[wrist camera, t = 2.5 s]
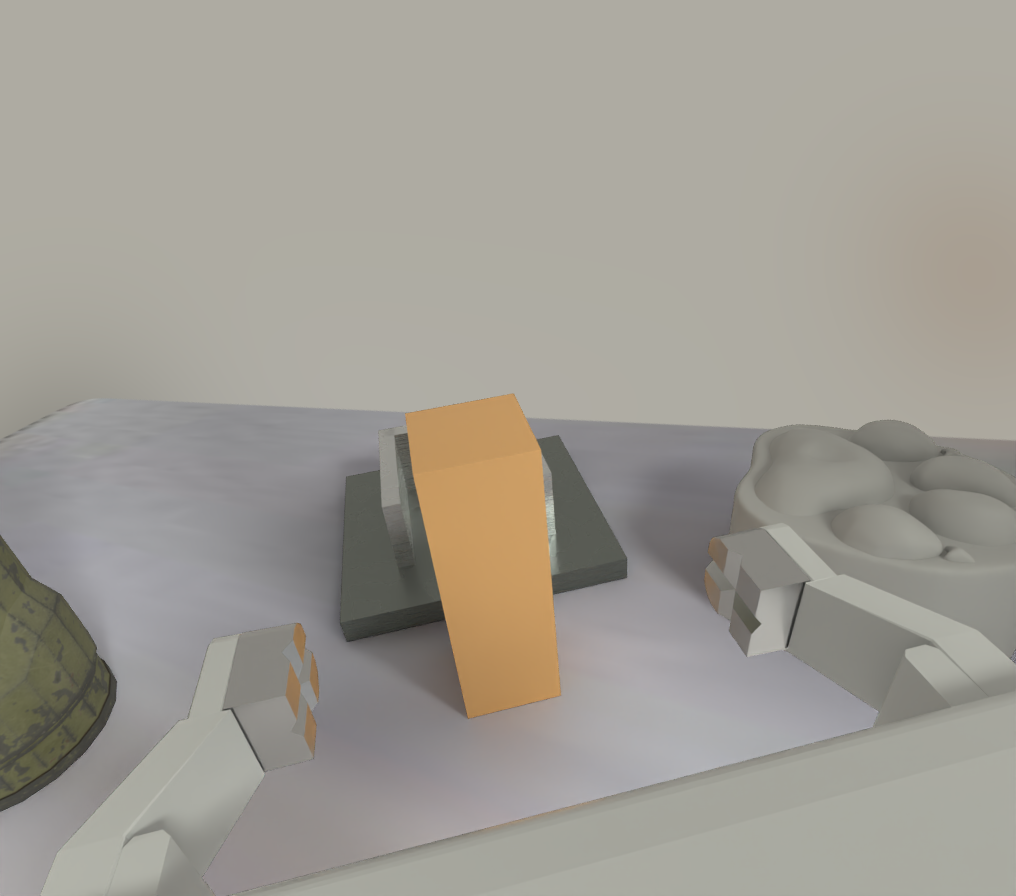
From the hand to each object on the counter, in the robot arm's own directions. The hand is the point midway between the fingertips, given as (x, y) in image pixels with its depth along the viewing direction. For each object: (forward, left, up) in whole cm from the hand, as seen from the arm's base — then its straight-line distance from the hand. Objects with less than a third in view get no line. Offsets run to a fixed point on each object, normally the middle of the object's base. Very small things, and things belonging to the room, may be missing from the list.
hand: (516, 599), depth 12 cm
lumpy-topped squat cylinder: (-19, -10, -17) cm, 28 cm away
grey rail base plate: (0, -22, -16) cm, 28 cm away
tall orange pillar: (0, -11, -16) cm, 20 cm away
